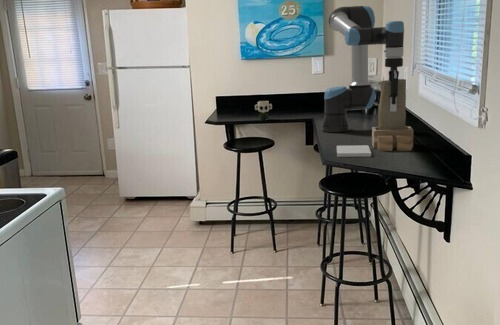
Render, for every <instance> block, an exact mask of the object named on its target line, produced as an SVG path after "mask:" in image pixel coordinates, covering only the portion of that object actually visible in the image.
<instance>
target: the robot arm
mask: <svg viewBox="0 0 500 325" xmlns="http://www.w3.org/2000/svg"><path fill="white" fill-rule="evenodd" d="M372 8H373V7H370V6H369V5H368V6H367V5H355V6H354V5H353V6H340V7H338V8H336V9H334V10H333V11H332V12H331V13H330V14H329V17H328V25H329V27H330V28H331V30H333V31H335V32H338V33H340V34H341V35H342V36H343V37H344V41H345V44H346V45H347V46H351V48H350V49H351V50H350V51H351V82H350V84H349V85H348V88H347V86H346V85H341V86H333V87H330V88H329V87H328V88H327V89H325V91H324V96H323V97H324V98H323V100H324V117H323V121H322V124H321V131H322V132H326V133H343V132H345V133H346V132H348V131H350V129H351V128H350V124H349V121H348V116H347V111H357V110H359V111H360V110H361V111H362V110H368V109H371V108H372V107H373V105H374V104H375V100H376V92H375V91H376V90H375V88H374V87H373V86H372V84H371V83H370V81H369V45H371V46H373V45H375V46H376V45H385V50H383V53H385V54H384V56H385V59H384V67H385V68H389V70H388V80H390V81H391V96H389V97H390V112H395V111H396V106H397V95H398V79H399V76H400V75H399V74H400V71H399V70H398V68H401V67H403V65H404V59H403V57H404V42H405V41H404V40H405V38H404V37H405V23H404V21H402V20H393V21H391V20H390V21H387V22H386V24H385V26H381V27H380V26H379V27H378V26H377V27H375V22H376V17H375V12H374V10H373V9H372Z"/></svg>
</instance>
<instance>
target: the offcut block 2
mask: <svg viewBox="0 0 500 325" xmlns="http://www.w3.org/2000/svg"><path fill="white" fill-rule="evenodd" d="M395 149H396V151H400V152H401V151H410V152H411V151H412V150H413V148H412V137H411V135H401V136H396V148H395Z"/></svg>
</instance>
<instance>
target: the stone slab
mask: <svg viewBox="0 0 500 325" xmlns="http://www.w3.org/2000/svg"><path fill="white" fill-rule="evenodd" d="M406 89H407V79H405V78H404V79H403V78H398V95H397V106H396V111H395V112H390V97H389V96H391V81H390V80H389V79H388V80H381V82H380V94H379V95H380V96H379V102H378V105H377V106H378V107H377V123H378V127H379V130H406V126H407V125H406V118H407V112H406V106H407V105H406V104H407V103H406V100H407V96H406V95H407V94H406V92H407V90H406Z"/></svg>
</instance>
